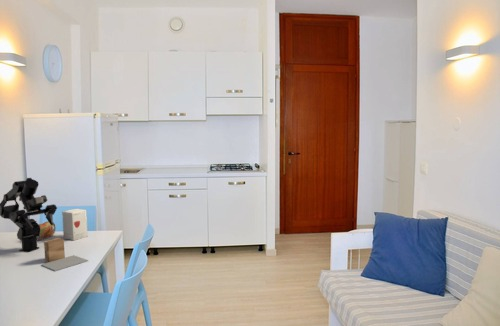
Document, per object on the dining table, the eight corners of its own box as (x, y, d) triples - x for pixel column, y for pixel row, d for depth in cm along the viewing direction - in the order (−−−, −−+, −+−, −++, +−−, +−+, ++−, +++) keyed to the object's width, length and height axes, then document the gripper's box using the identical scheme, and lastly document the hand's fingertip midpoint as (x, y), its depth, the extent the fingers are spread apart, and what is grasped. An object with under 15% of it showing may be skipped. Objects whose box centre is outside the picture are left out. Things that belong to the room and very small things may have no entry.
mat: (41, 265, 174) (41, 264, 174) (73, 256, 186) (73, 255, 186) (55, 271, 167) (55, 270, 167) (88, 261, 179) (88, 260, 179)
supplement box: (73, 240, 210) (71, 213, 209) (63, 238, 215) (61, 211, 213) (88, 236, 218) (86, 209, 216) (78, 234, 223) (76, 208, 221)
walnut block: (45, 261, 180) (43, 241, 179) (60, 256, 185) (59, 237, 184) (49, 262, 177) (48, 243, 176) (64, 258, 183) (63, 239, 182)
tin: (37, 242, 209) (36, 226, 208) (31, 241, 209) (30, 226, 208) (56, 234, 223) (55, 219, 223) (51, 234, 224) (50, 219, 223)
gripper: (13, 193, 180) (26, 220, 175) (53, 188, 195) (67, 212, 190) (6, 209, 185) (19, 235, 180) (46, 202, 200) (59, 226, 195)
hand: (42, 226), depth 186 cm, fingers open, 9 cm apart
